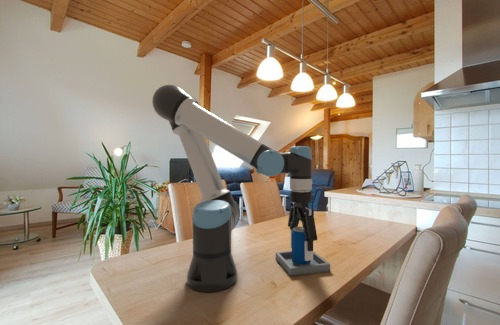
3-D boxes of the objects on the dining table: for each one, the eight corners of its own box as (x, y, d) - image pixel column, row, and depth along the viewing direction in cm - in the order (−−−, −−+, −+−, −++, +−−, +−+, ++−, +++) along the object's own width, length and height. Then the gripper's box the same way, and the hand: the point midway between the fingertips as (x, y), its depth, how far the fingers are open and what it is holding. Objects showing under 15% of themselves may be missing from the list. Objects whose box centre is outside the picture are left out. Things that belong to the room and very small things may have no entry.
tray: (290, 276, 75) (290, 268, 75) (275, 259, 89) (275, 252, 89) (330, 271, 78) (330, 263, 78) (310, 255, 92) (310, 248, 92)
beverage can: (311, 267, 80) (310, 232, 80) (291, 266, 81) (291, 231, 81) (310, 259, 86) (309, 226, 86) (292, 258, 87) (291, 225, 87)
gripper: (328, 194, 73) (329, 266, 73) (296, 186, 96) (297, 241, 96) (306, 195, 71) (306, 269, 71) (279, 187, 94) (279, 243, 94)
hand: (301, 253), depth 84 cm, fingers open, 11 cm apart
